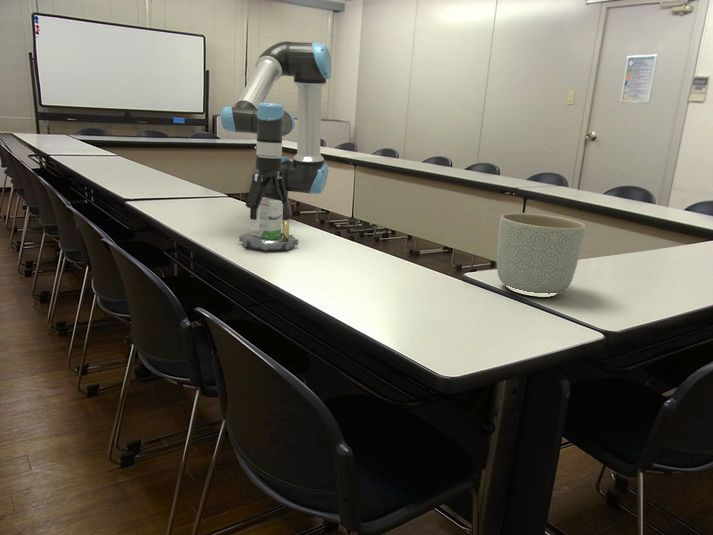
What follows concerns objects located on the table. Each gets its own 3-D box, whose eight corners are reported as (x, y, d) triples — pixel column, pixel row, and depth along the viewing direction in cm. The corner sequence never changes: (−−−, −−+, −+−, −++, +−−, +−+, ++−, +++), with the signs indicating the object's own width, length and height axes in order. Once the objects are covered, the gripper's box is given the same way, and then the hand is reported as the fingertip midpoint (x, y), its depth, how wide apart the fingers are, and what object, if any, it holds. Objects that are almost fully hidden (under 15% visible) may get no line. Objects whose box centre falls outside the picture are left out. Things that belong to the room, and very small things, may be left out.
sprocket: (300, 239, 187) (301, 215, 185) (295, 252, 169) (296, 225, 167) (244, 235, 186) (245, 211, 184) (234, 248, 168) (234, 221, 166)
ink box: (281, 238, 177) (283, 200, 174) (270, 240, 173) (271, 201, 170) (262, 233, 182) (263, 196, 179) (250, 235, 178) (251, 197, 175)
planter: (573, 309, 138) (587, 232, 133) (485, 295, 144) (496, 220, 140) (573, 288, 157) (585, 219, 152) (495, 275, 163) (505, 209, 158)
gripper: (279, 154, 184) (276, 219, 189) (234, 157, 161) (232, 231, 167) (299, 156, 181) (296, 222, 186) (257, 159, 158) (255, 234, 164)
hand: (266, 226), depth 177 cm, fingers open, 13 cm apart
